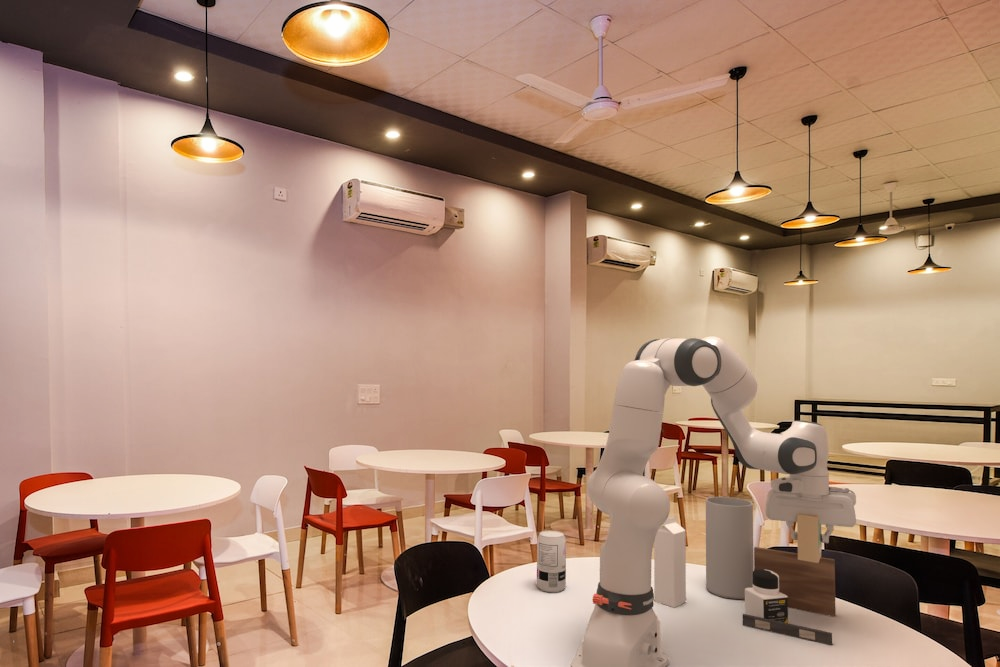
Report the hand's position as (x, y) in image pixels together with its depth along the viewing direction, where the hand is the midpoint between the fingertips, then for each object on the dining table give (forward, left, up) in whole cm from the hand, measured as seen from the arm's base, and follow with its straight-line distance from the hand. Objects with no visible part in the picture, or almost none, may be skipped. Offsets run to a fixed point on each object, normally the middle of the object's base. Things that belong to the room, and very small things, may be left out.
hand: (809, 541), depth 148 cm
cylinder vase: (+9, +21, -20) cm, 30 cm away
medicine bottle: (-7, +9, -20) cm, 23 cm away
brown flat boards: (-3, +4, -19) cm, 20 cm away
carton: (0, 0, -4) cm, 4 cm away
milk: (-8, +33, -20) cm, 39 cm away
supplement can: (-17, +64, -20) cm, 69 cm away
